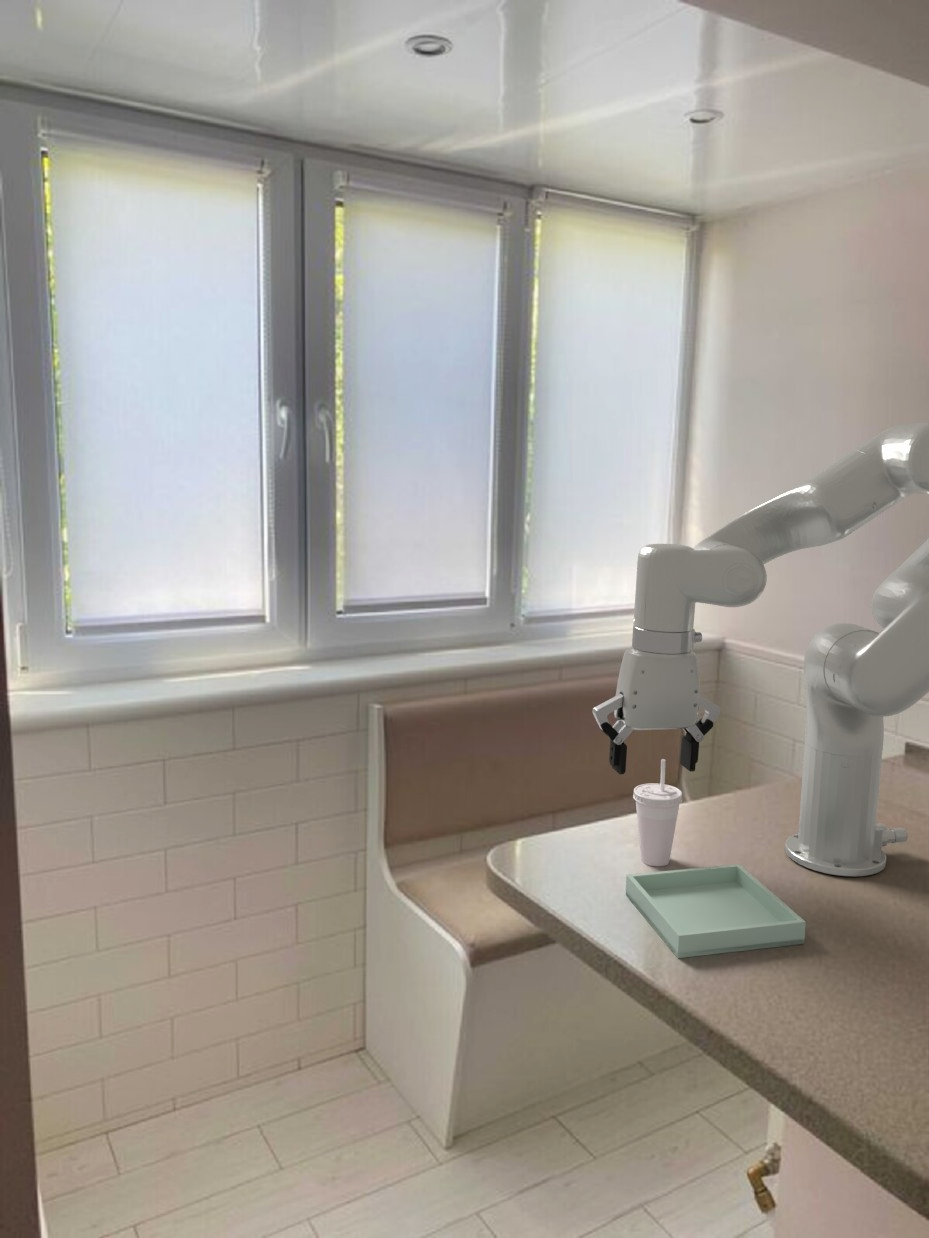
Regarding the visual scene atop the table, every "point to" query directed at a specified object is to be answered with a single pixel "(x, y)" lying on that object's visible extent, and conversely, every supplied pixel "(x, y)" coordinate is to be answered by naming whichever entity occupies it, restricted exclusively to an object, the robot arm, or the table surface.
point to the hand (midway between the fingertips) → (653, 769)
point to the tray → (713, 910)
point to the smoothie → (657, 819)
